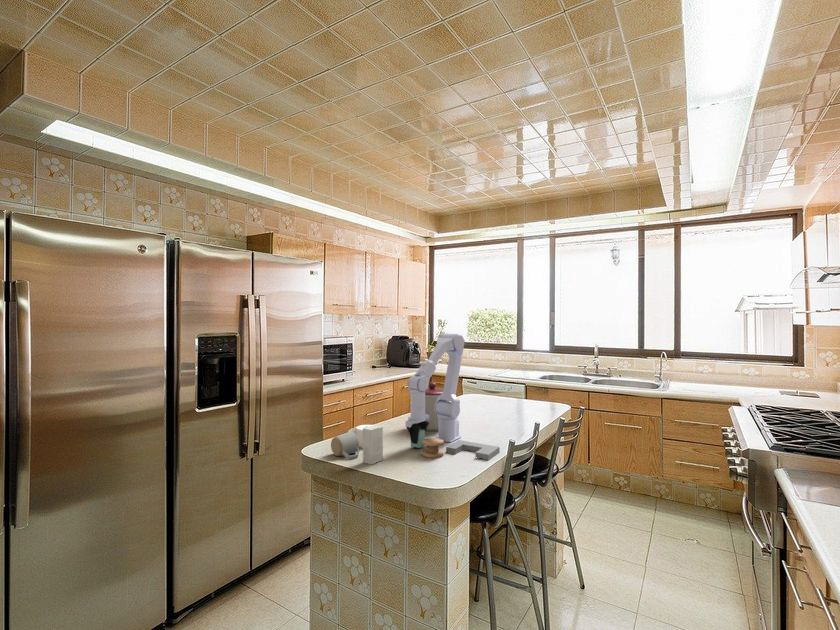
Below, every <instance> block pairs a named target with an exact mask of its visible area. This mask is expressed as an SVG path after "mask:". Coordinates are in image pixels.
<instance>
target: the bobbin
mask: <svg viewBox="0 0 840 630" xmlns="http://www.w3.org/2000/svg"><path fill="white" fill-rule="evenodd" d="M444 443H445V441H443V440H442V439H438V438H436V437H429V438H428V437H426V438H425V439H423V440H422V444H424V446H426V448H425V449H422V450H421V455H422V456H423V457H424V458H427V457H428V459H437V458H438V457H439V458H442V457H443V456H444V451H443V450H442V449H440V448H439V447H440V446H442V445H444Z"/></svg>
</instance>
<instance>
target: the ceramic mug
mask: <svg viewBox="0 0 840 630" xmlns="http://www.w3.org/2000/svg"><path fill="white" fill-rule="evenodd" d="M330 448H331V451H332V453H333V454H334V456H336V457H342V456H343V457H345V458H346V459H348V460H349V459H350V460H354V459H356V458H358V456H359V453H360V450H359V449H360V447H359V440H358V437H357V435H356V434H355V433H354V432H348V431H347V432H345V433H343V434H339V435H336V436H334V437H333V438H332V439H331V442H330ZM354 453H355V454H354ZM351 454H352V455H351Z"/></svg>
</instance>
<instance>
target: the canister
mask: <svg viewBox="0 0 840 630" xmlns="http://www.w3.org/2000/svg"><path fill="white" fill-rule="evenodd" d="M443 389H444V387H437V384H436V382H434V381H429V386H428V388H427V389H426V390H425V414H427V415H429V420H426V421H427V422H429V425H428V427H427V429H426V431H428V432H432V431H433V432H436V431H437V432H438V418H439V417H437V414H436V413H435V410H434V407H435V404H436V402H437V398H438V396H440V395H441V394H442V393H443ZM446 402H451V401H446Z"/></svg>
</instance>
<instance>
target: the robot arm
mask: <svg viewBox="0 0 840 630" xmlns="http://www.w3.org/2000/svg"><path fill="white" fill-rule="evenodd" d="M465 341H466V340H465V339H464V336H463V335H462V334H461V333H448V332H447V333H446V332H442V333H440V334H439V335H438V337H437V338H436V345H435V347H434V348H433V350H432V352H431V354H430V356H429V358H428V359H427V360H424V361H422V362H421V365H420V366H419V368H418V369H417V371H416V372H415V374H414V375H412V376H411V377H409V378H408V381H407V383H406V385H407V388H408V392H409V395H410V402H409V403H410V408H409V409H410V413H409V414H410V415H409V416H408V418H407V419H408V420H406V421H405V428H406V430H407V431H408V434H409V436H410V437H409V438H410V442H411V441H412V443H414V444H417V442H418V434H419V430H420V429H423V430H425V433H426V432H427V430H426V429H427V427H428V425H429V422H427V421H426V420H429V415H427V414H425V390H426V389H427V388H428V387H429V383H430V381H431V380H430V378H431V377H432V376H433V374H434V373H435V372H436V369H437V368H436V364H437V363H438V362H439V361H440V359H441V358H442V357H443V356H444V354H445V353H446V354H447V355H448V362H447V368H446V373H445V377H444V378H445V379H444V384H443V388H444V389H443V393H442V394H441V395H440V396H438V398H437V402H436V404H435V407H434V410H435V413H436V414H437V417H439V418H438V430H437V433H438V434H437V436H436V437H435V438H438V439H442V440H443V441H444V442H448V443H454V441H456V440H459V439H460V438H461V437H462V436H461V435H460V420H459V418H458V417H459V415H460V413H461V408H460V406H461V405H460V404H461V400H460V399H459V398H458V397H457V395H456V394H457V387H458V384H459V378H460V372H461V366H462V365H461V364H462V359H463V354H464V353H463V352H464V348H465ZM446 401H450V402H446Z"/></svg>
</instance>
